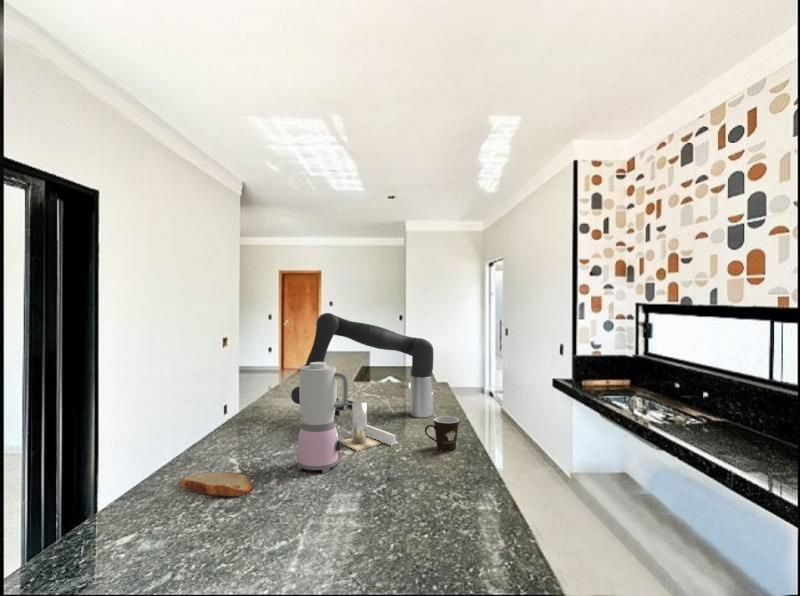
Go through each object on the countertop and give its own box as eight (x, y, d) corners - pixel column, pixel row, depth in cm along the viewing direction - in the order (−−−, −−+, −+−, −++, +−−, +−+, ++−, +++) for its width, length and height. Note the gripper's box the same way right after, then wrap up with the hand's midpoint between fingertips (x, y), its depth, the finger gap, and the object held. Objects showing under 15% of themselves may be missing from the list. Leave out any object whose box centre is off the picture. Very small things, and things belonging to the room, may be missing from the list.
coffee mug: (458, 444, 163) (458, 416, 163) (459, 453, 155) (459, 423, 155) (425, 443, 164) (425, 415, 164) (424, 452, 156) (424, 422, 156)
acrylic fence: (367, 432, 177) (367, 423, 177) (397, 444, 164) (397, 434, 164) (360, 434, 175) (360, 424, 175) (391, 446, 162) (391, 436, 162)
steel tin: (361, 438, 168) (361, 399, 167) (369, 442, 164) (369, 402, 163) (349, 441, 164) (349, 402, 164) (357, 445, 160) (357, 405, 160)
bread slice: (178, 483, 131) (178, 470, 131) (244, 472, 140) (244, 459, 139) (181, 510, 115) (181, 495, 115) (255, 495, 124) (255, 481, 124)
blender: (290, 472, 138) (290, 365, 138) (306, 458, 150) (306, 359, 150) (341, 476, 135) (341, 367, 135) (353, 461, 147) (353, 361, 147)
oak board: (362, 437, 171) (362, 435, 171) (380, 444, 163) (380, 442, 163) (339, 443, 165) (339, 440, 165) (357, 451, 157) (357, 449, 157)
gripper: (308, 396, 177) (332, 404, 164) (340, 390, 186) (364, 398, 174) (308, 415, 177) (332, 425, 164) (340, 409, 186) (364, 418, 174)
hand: (348, 411), depth 169 cm, fingers open, 8 cm apart
